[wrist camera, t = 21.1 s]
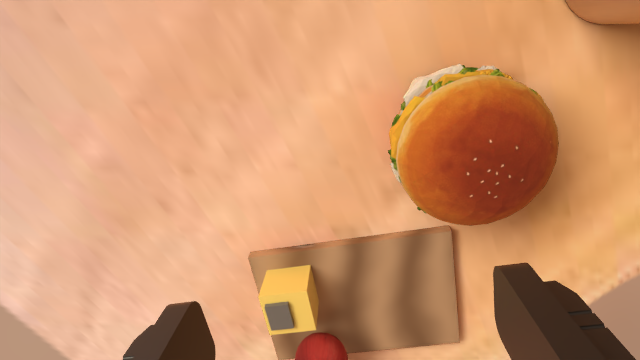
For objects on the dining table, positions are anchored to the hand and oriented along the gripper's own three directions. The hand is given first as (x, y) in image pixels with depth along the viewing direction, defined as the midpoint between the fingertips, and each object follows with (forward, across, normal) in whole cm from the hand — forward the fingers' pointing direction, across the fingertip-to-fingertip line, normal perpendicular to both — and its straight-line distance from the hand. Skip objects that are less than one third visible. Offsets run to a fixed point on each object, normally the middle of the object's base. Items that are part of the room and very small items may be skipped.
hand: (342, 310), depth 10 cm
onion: (+27, +7, +26) cm, 38 cm away
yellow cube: (+27, +9, +18) cm, 34 cm away
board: (+28, +2, +23) cm, 36 cm away
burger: (+28, -10, +4) cm, 30 cm away
